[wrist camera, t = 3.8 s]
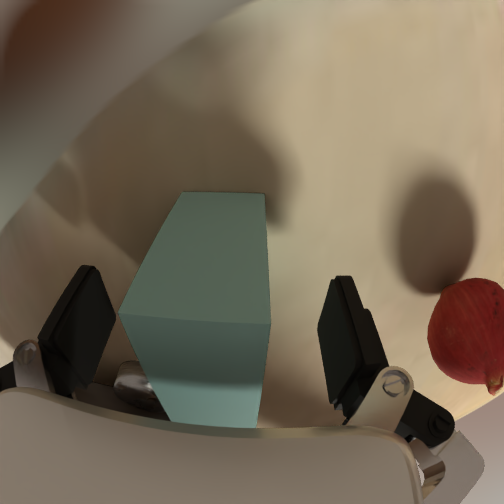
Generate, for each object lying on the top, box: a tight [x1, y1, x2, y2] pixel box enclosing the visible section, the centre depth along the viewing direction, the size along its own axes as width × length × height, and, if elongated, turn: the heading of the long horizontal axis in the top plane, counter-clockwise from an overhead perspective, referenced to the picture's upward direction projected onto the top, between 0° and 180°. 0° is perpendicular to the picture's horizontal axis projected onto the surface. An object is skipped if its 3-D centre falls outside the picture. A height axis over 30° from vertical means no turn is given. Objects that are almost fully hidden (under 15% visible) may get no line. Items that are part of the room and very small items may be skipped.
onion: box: [427, 278, 504, 396], centre depth 11 cm, size 6×6×8 cm
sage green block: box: [118, 192, 271, 428], centre depth 14 cm, size 4×18×7 cm, turn 178°
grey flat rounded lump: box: [113, 361, 165, 412], centre depth 20 cm, size 5×5×2 cm
